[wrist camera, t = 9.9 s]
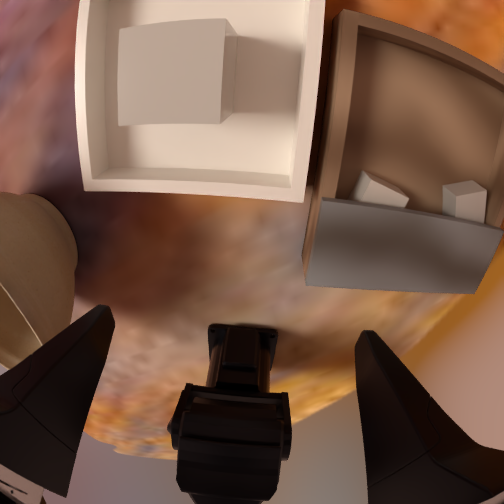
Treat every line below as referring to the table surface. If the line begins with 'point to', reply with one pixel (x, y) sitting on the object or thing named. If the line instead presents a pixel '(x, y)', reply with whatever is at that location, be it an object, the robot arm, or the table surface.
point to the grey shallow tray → (404, 161)
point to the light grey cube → (177, 72)
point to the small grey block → (464, 201)
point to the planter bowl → (33, 275)
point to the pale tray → (205, 135)
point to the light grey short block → (377, 191)
